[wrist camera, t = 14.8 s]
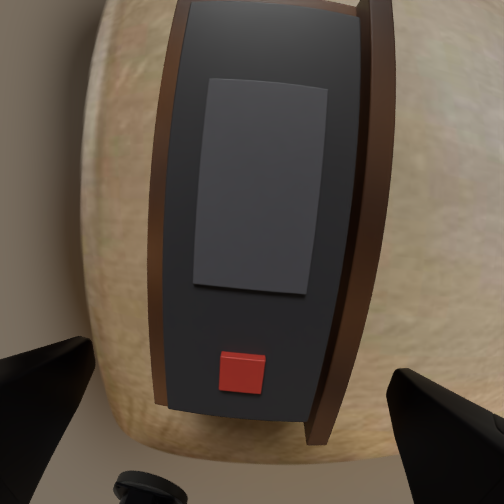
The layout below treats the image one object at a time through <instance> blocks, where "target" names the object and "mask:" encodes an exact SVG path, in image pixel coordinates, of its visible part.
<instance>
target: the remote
mask: <svg viewBox="0 0 504 504" xmlns="http://www.w3.org/2000/svg"><path fill="white" fill-rule="evenodd" d="M360 85H361V24H360V18H359V17H356V16H352V15H347V14H343V13H338V12H333V11H327V10H322V9H316V8H309V7H302V6H295V5H286V4H276V3H264V2H245V1H202V2H191V3H190V8H189V13H188V17H187V22H186V27H185V33H184V38H183V44H182V49H181V55H180V61H179V67H178V74H177V81H176V87H175V95H174V102H173V110H172V119H171V128H170V137H169V147H168V159H167V171H166V185H165V201H164V222H163V256H162V307H163V341H164V361H165V377H166V391H167V403H168V408H169V409H173V410H179V411H185V412H191V413H197V414H204V415H212V416H220V417H229V418H239V419H250V420H264V421H284V422H307V421H308V418H309V415H310V411H311V407H312V404H313V400H314V396H315V393H316V389H317V385H318V381H319V377H320V373H321V369H322V365H323V361H324V357H325V352H326V348H327V343H328V339H329V334H330V330H331V325H332V320H333V315H334V310H335V305H336V300H337V295H338V289H339V284H340V278H341V272H342V267H343V260H344V254H345V248H346V241H347V234H348V227H349V220H350V212H351V204H352V195H353V186H354V177H355V167H356V155H357V143H358V128H359V111H360Z"/></svg>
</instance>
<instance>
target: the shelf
mask: <svg viewBox="0 0 504 504" xmlns="http://www.w3.org/2000/svg"><path fill="white" fill-rule="evenodd" d="M202 1H245V2H264V3H276V4H286V5H295V6H302V7H309V8H316V9H322V10H327V11H333V12H338V13H343V14H347V15H352V16H356V17H359V18H360V24H361V85H360V111H359V128H358V143H357V155H356V167H355V177H354V186H353V195H352V204H351V212H350V220H349V227H348V234H347V241H346V248H345V254H344V260H343V267H342V272H341V278H340V284H339V289H338V295H337V300H336V305H335V310H334V315H333V320H332V325H331V330H330V334H329V339H328V343H327V348H326V352H325V357H324V361H323V365H322V369H321V373H320V377H319V381H318V385H317V389H316V393H315V396H314V400H313V404H312V407H311V411H310V415H309V418H308V421H307V422H303V423H304V429H305V436H306V443H307V445H326V444H327V442H328V439H329V437H330V434H331V431H332V429H333V426H334V423H335V421H336V418H337V415H338V412H339V409H340V406H341V404H342V401H343V398H344V395H345V392H346V388H347V385H348V382H349V379H350V376H351V372H352V369H353V366H354V362H355V359H356V356H357V352H358V348H359V345H360V341H361V337H362V334H363V330H364V326H365V322H366V318H367V314H368V309H369V305H370V301H371V296H372V292H373V287H374V282H375V278H376V273H377V267H378V262H379V257H380V251H381V245H382V239H383V233H384V227H385V220H386V213H387V206H388V198H389V190H390V180H391V171H392V159H393V146H394V130H395V105H396V60H395V36H394V22H393V10H392V0H360V2H359V3H358V5H357V7H354V6H350V5H345V4H340V3H336V2H331V1H325V0H178V1H177V5H176V9H175V13H174V17H173V22H172V27H171V31H170V36H169V41H168V46H167V51H166V57H165V62H164V68H163V74H162V80H161V87H160V94H159V101H158V108H157V116H156V124H155V133H154V142H153V153H152V164H151V177H150V192H149V211H148V244H147V289H148V321H149V340H150V356H151V368H152V380H153V390H154V399H155V404H158V405H163V406H168V403H167V391H166V377H165V361H164V341H163V307H162V256H163V222H164V201H165V185H166V171H167V159H168V147H169V137H170V128H171V119H172V110H173V102H174V95H175V87H176V81H177V74H178V67H179V61H180V55H181V49H182V44H183V38H184V33H185V27H186V22H187V17H188V13H189V8H190V3H191V2H202Z"/></svg>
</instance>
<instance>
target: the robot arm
mask: <svg viewBox="0 0 504 504" xmlns="http://www.w3.org/2000/svg"><path fill="white" fill-rule="evenodd" d="M94 369H95V356H94V350H93V344H92V341H91V340H90V339H89V338H85V337H82V336H77V337H73V338H70V339H67V340H64V341H61V342H57V343H54V344H51V345H47V346H44V347H41V348H37V349H34V350H31V351H27V352H24V353H20V354H17V355H14V356H10V357H7V358H3V359H0V504H29V503H30V500H31V498H32V496H33V494H34V492H35V489H36V488H37V485H38V483H39V481H40V479H41V477H42V475H43V473H44V471H45V469H46V467H47V465H48V463H49V461H50V459H51V457H52V455H53V453H54V451H55V449H56V447H57V445H58V443H59V441H60V440H61V438H62V436H63V434H64V432H65V430H66V428H67V426H68V425H69V423H70V421H71V419H72V417H73V415H74V413H75V412H76V410H77V408H78V406H79V404H80V402H81V399H82V397H83V395H84V392H85V390H86V388H87V385H88V383H89V381H90V378H91V376H92V374H93V371H94ZM386 398H387V403H388V408H389V412H390V417H391V422H392V427H393V432H394V436H395V440H396V443H397V446H398V450H399V453H400V456H401V459H402V462H403V466H404V469H405V472H406V476H407V480H408V483H409V487H410V490H411V494H412V498H413V501H414V504H504V418H502V417H500V416H498V415H496V414H493V413H492V412H490V411H488V410H486V409H484V408H482V407H481V406H479V405H477V404H475V403H473V402H471V401H469V400H467V399H465V398H463V397H461V396H459V395H458V394H456V393H454V392H452V391H450V390H448V389H446V388H444V387H442V386H441V385H439V384H437V383H435V382H433V381H431V380H429V379H427V378H426V377H424V376H422V375H420V374H418V373H416V372H415V371H413V370H411V369H409V368H399V369H396V370H395V371H394V373H393V376H392V378H391V381H390V384H389V386H388V389H387V392H386ZM114 486H115V489H116V491H117V493H118V495H119V497H120V500H121V501H120V503H119V504H177V503H176V498H175V497H173V496H170V495H165V494H161V493H156V492H152V491H148V490H144V489H140V488H136V487H133V486H129V485H126V484H122V483H119V482H116V483H115V485H114Z"/></svg>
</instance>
